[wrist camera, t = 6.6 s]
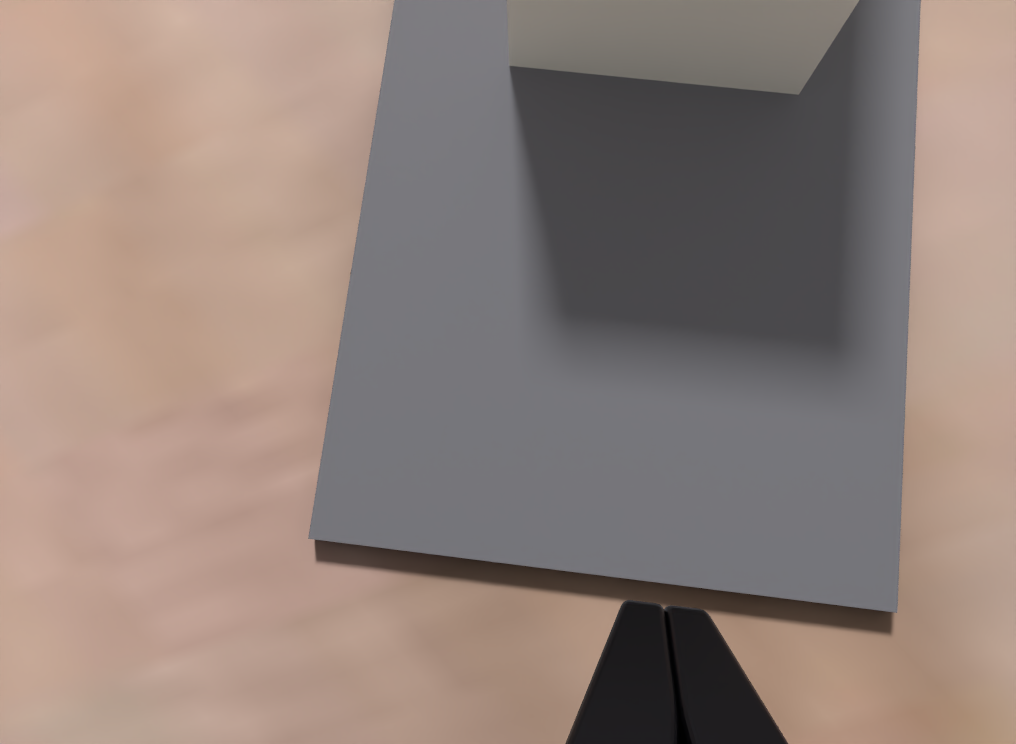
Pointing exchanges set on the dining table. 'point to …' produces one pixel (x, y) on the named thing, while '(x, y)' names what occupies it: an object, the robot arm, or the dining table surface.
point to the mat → (631, 316)
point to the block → (679, 39)
